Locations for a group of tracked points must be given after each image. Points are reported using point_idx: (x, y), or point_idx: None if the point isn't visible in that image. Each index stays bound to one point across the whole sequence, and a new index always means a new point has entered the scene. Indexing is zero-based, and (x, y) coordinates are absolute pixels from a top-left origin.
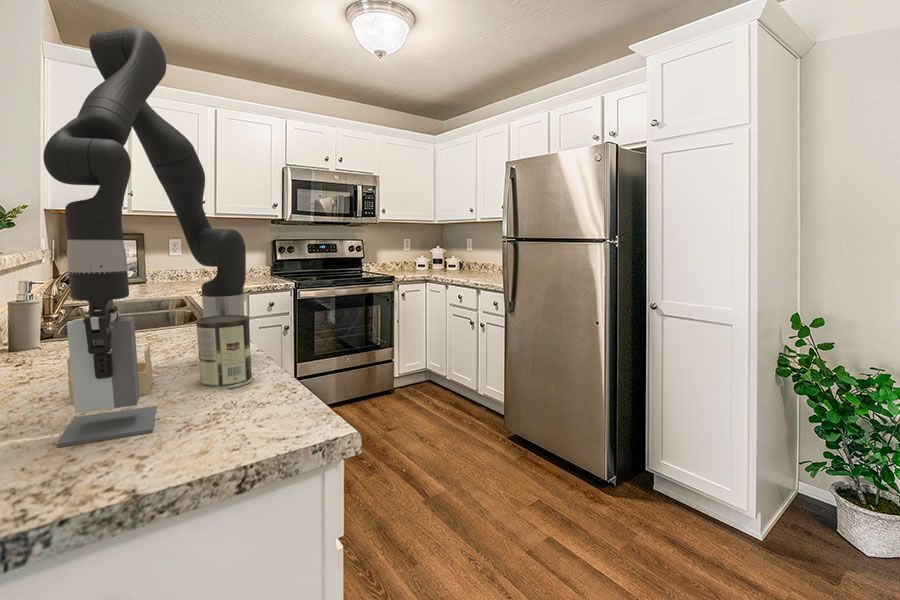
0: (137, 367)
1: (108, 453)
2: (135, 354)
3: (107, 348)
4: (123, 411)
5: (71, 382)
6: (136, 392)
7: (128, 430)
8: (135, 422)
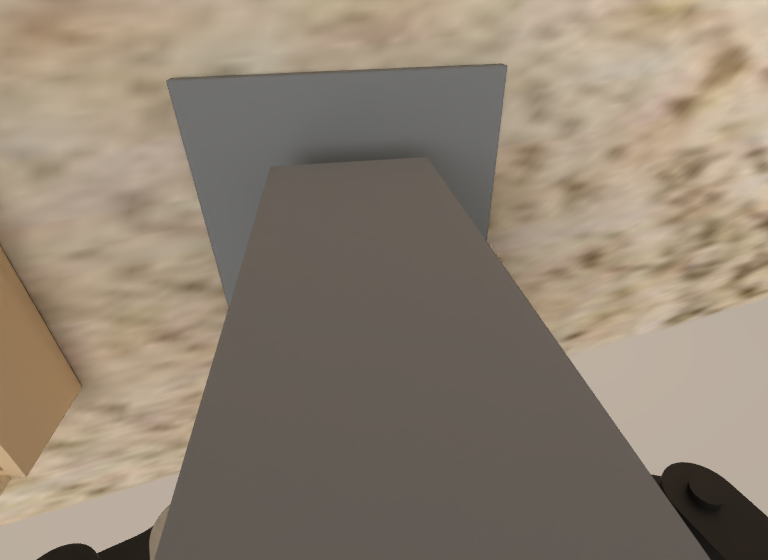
0: (265, 242)
1: (608, 180)
2: (325, 307)
3: (747, 500)
4: (220, 215)
5: (25, 460)
6: (408, 178)
7: (473, 155)
8: (388, 145)
